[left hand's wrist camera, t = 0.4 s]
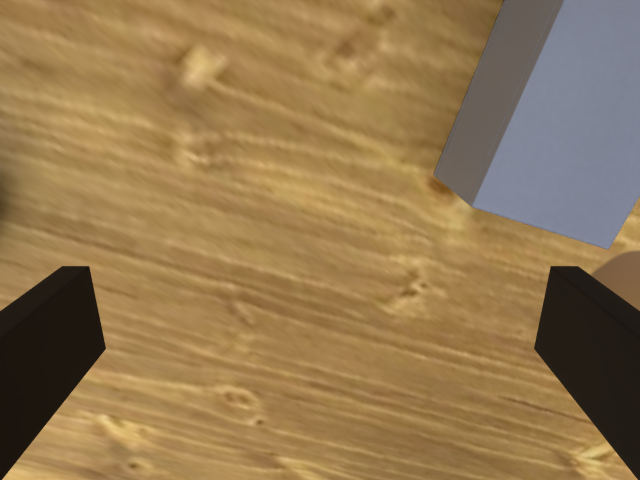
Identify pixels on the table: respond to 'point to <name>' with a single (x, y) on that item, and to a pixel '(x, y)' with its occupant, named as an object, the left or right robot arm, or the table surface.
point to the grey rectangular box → (553, 119)
